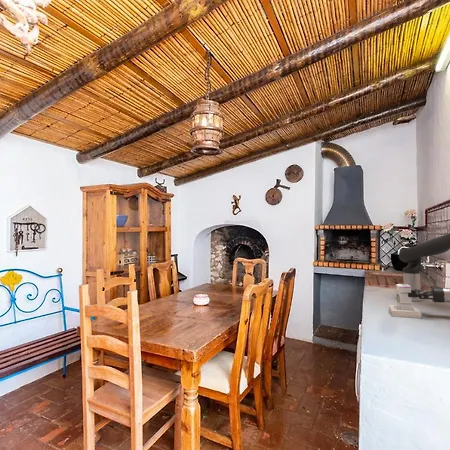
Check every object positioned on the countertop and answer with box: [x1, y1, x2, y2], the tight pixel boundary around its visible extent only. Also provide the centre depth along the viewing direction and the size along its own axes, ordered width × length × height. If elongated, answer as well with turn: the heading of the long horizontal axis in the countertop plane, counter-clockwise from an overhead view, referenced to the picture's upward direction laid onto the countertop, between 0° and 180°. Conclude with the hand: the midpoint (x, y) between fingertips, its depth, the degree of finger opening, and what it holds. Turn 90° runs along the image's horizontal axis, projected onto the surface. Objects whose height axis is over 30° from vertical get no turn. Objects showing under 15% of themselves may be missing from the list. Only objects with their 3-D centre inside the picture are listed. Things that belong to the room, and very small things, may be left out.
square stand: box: [388, 304, 423, 319], centre depth 159 cm, size 13×13×3 cm
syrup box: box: [395, 283, 413, 311], centre depth 159 cm, size 6×6×14 cm
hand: (406, 293), depth 159 cm, fingers open, 8 cm apart
